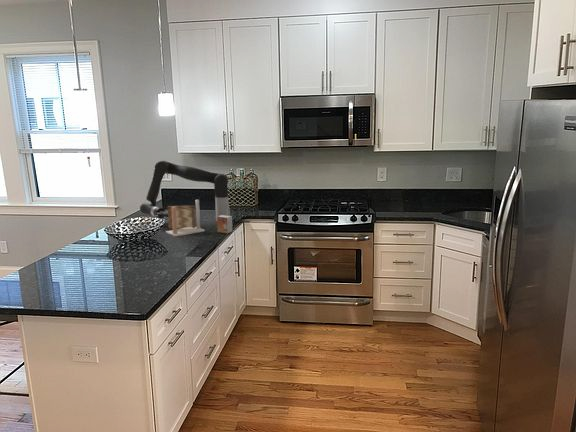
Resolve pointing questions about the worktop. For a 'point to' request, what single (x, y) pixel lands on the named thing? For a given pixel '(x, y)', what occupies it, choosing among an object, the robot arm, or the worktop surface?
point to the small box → (224, 224)
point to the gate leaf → (182, 216)
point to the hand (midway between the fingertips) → (170, 216)
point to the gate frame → (185, 231)
